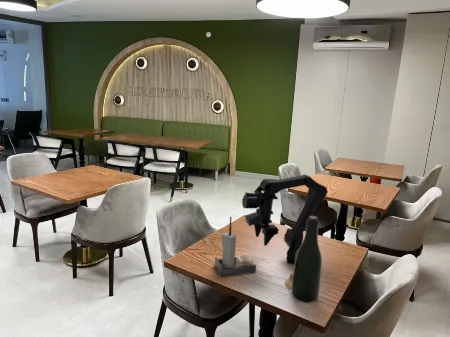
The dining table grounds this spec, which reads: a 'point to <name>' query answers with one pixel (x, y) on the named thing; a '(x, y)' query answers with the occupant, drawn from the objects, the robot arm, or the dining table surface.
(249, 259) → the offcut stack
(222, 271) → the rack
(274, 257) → the dining table surface
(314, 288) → the beer bottle
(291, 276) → the hand bell
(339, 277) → the dining table surface
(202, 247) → the dining table surface
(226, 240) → the vintage mobile phone
